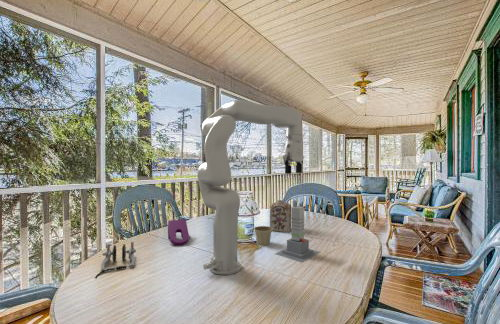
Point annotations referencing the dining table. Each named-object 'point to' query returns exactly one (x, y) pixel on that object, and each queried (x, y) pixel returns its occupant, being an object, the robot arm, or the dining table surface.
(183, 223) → the mounting bracket
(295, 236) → the column
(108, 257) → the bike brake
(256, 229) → the flower pot
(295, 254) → the stand base
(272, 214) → the decorative jar
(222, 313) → the dining table surface
